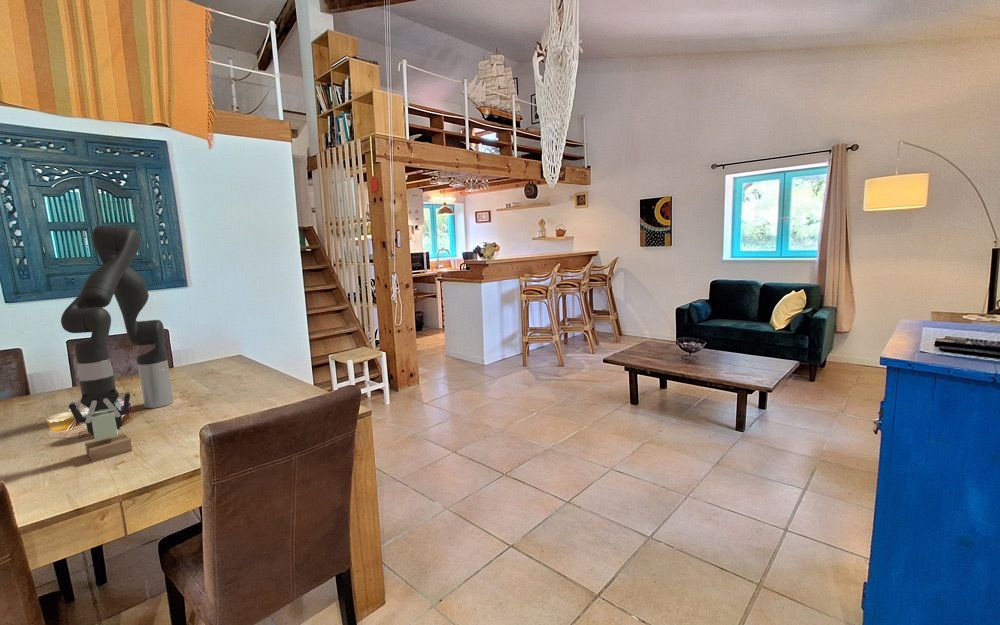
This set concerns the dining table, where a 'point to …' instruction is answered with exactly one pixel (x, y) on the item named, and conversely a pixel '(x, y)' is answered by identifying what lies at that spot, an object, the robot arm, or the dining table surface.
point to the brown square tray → (108, 447)
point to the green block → (104, 425)
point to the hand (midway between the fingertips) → (105, 430)
